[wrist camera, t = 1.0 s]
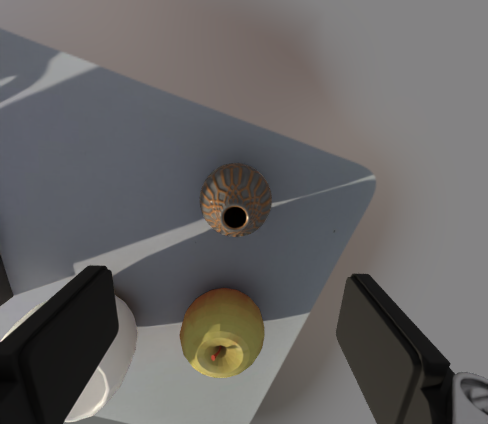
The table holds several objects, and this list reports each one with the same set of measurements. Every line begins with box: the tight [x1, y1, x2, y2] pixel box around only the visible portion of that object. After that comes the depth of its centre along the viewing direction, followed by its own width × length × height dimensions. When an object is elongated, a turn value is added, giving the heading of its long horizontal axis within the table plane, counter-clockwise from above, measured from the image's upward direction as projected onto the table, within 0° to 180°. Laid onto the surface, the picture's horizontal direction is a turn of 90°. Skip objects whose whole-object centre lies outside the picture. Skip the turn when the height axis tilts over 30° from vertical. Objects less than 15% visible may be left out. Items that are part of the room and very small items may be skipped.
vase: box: [200, 163, 272, 237], centre depth 23 cm, size 7×7×9 cm
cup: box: [1, 296, 137, 422], centre depth 27 cm, size 12×12×10 cm
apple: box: [180, 288, 264, 378], centre depth 28 cm, size 10×10×8 cm
